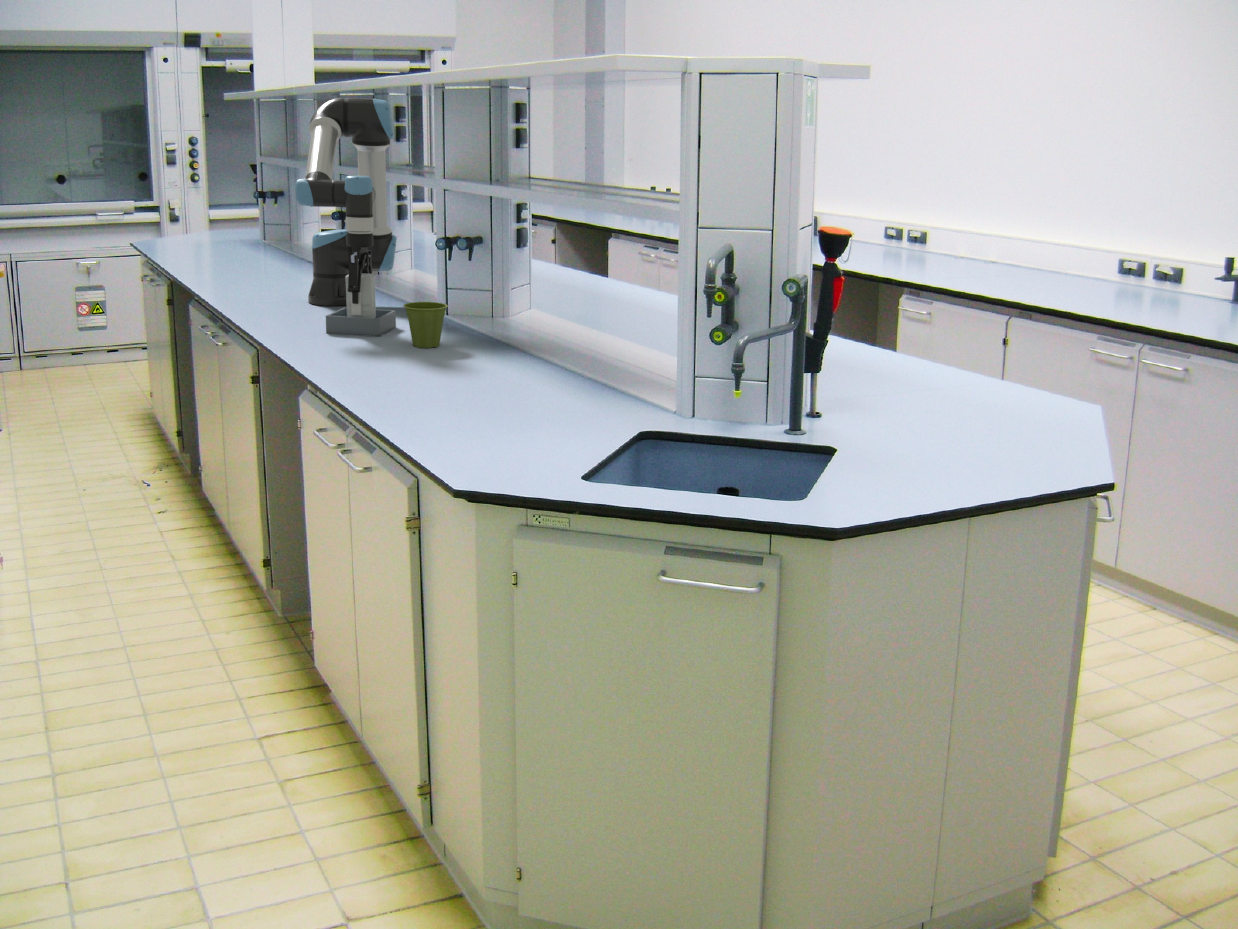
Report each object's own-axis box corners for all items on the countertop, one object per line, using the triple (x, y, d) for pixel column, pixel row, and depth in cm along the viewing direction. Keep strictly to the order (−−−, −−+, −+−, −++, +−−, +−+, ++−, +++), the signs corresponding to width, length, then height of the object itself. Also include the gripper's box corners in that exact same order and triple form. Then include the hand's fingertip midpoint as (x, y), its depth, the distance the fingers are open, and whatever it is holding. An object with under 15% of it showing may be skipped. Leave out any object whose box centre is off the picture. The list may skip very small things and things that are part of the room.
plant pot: (400, 342, 323) (399, 301, 320) (442, 341, 327) (442, 301, 324) (408, 350, 313) (407, 308, 310) (452, 349, 317) (452, 308, 314)
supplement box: (376, 316, 341) (375, 273, 338) (372, 321, 334) (371, 276, 331) (351, 315, 341) (349, 272, 337) (346, 320, 334) (344, 275, 330)
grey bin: (344, 324, 347) (343, 307, 345) (395, 327, 345) (395, 310, 344) (326, 333, 332) (325, 315, 330) (379, 336, 330) (379, 319, 329)
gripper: (358, 228, 341) (360, 306, 347) (334, 234, 321) (336, 317, 328) (383, 229, 340) (384, 307, 347) (361, 236, 320) (362, 319, 327)
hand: (361, 312), depth 337 cm, fingers closed on supplement box, 8 cm apart
